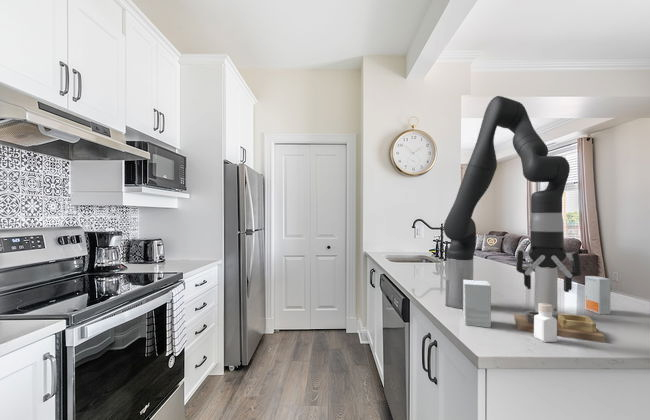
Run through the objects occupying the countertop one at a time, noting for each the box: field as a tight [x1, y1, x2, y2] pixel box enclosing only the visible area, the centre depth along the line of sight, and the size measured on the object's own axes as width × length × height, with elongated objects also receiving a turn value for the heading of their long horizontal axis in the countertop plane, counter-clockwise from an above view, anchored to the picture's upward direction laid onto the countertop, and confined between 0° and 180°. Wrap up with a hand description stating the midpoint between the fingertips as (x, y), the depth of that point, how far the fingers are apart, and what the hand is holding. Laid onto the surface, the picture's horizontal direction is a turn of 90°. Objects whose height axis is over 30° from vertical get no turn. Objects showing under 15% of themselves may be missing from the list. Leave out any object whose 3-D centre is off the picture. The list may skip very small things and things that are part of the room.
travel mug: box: [534, 266, 559, 319], centre depth 112 cm, size 6×7×20 cm
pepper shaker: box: [533, 303, 558, 343], centre depth 90 cm, size 4×4×10 cm
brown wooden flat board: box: [513, 310, 606, 343], centre depth 98 cm, size 20×12×4 cm, turn 65°
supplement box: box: [462, 279, 492, 328], centre depth 104 cm, size 7×7×13 cm
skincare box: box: [584, 275, 612, 315], centre depth 117 cm, size 6×4×12 cm
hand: (547, 290), depth 90 cm, fingers open, 8 cm apart
